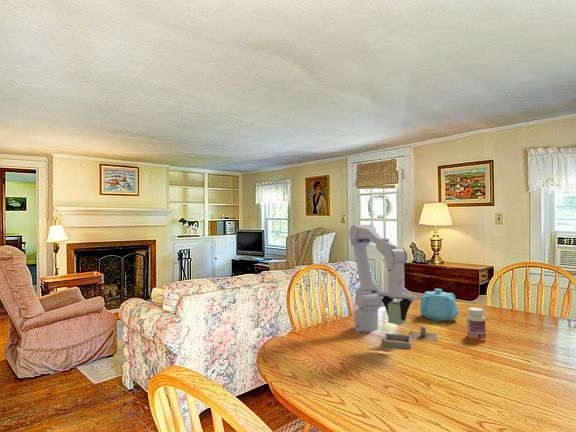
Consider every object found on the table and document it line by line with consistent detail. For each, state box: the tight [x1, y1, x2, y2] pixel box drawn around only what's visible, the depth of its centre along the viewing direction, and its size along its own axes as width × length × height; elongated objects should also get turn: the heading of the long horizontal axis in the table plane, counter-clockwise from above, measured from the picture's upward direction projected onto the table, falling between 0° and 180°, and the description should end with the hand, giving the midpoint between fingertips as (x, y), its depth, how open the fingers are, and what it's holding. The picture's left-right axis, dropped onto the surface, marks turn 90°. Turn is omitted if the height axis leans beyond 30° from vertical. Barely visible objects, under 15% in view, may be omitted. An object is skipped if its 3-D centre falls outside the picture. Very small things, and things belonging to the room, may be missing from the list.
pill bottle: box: [466, 307, 487, 342], centre depth 138 cm, size 6×6×11 cm
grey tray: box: [382, 332, 412, 350], centre depth 133 cm, size 9×9×2 cm
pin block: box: [409, 325, 439, 343], centre depth 140 cm, size 10×10×4 cm
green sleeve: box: [387, 300, 407, 326], centre depth 133 cm, size 5×5×7 cm
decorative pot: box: [419, 288, 459, 323], centre depth 167 cm, size 16×16×14 cm
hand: (396, 318), depth 133 cm, fingers closed on green sleeve, 5 cm apart
